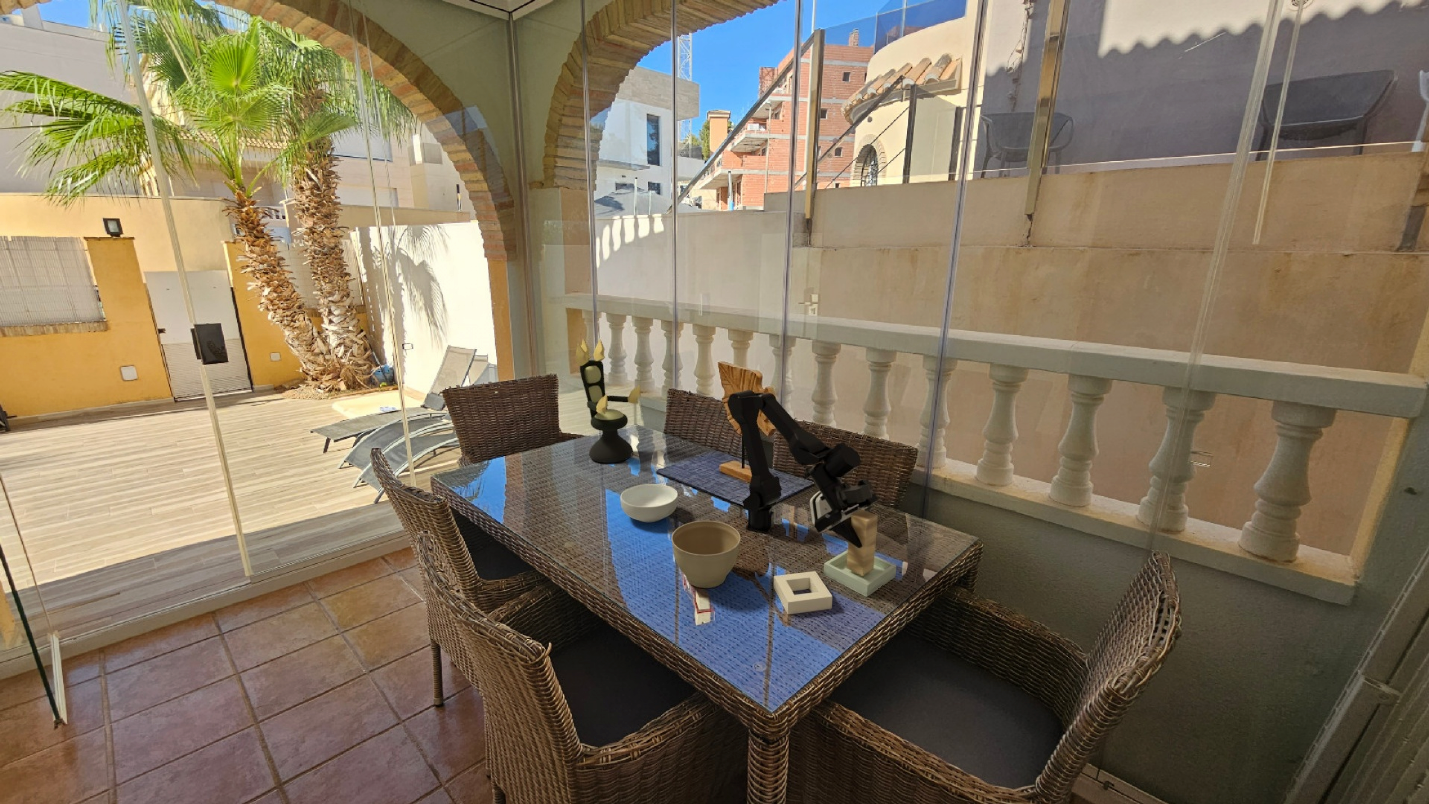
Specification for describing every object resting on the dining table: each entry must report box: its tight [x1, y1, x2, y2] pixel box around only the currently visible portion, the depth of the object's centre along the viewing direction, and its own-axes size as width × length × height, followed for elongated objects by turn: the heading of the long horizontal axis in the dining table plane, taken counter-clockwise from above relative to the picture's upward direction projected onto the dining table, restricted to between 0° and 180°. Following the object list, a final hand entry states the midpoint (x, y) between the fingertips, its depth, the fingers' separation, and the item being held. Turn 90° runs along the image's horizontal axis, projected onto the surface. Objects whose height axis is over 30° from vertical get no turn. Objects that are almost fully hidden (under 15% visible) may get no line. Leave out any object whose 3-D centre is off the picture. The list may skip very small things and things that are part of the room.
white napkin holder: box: [809, 490, 851, 531], centre depth 159 cm, size 17×5×10 cm, turn 130°
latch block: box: [773, 570, 833, 615], centre depth 121 cm, size 10×10×3 cm
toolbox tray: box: [823, 549, 897, 598], centre depth 130 cm, size 12×12×3 cm
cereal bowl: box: [620, 483, 679, 523], centre depth 160 cm, size 17×17×7 cm
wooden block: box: [846, 509, 879, 576], centre depth 128 cm, size 4×4×14 cm
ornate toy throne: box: [574, 338, 642, 464], centre depth 204 cm, size 19×22×45 cm
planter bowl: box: [671, 520, 741, 589], centre depth 128 cm, size 16×16×11 cm
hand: (866, 544), depth 127 cm, fingers closed on wooden block, 4 cm apart
